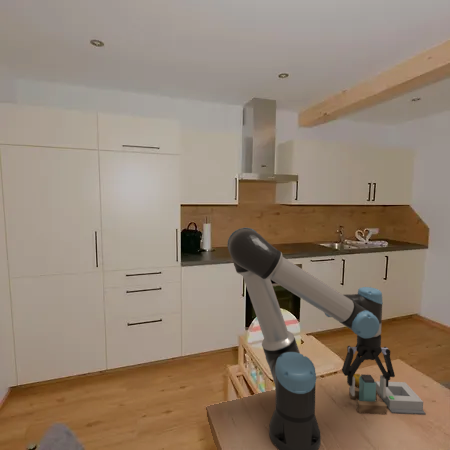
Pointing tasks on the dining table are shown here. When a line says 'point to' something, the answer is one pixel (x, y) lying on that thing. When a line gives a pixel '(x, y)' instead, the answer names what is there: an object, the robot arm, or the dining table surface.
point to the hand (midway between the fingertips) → (367, 394)
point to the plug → (367, 388)
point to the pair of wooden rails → (369, 405)
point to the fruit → (357, 379)
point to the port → (401, 398)
